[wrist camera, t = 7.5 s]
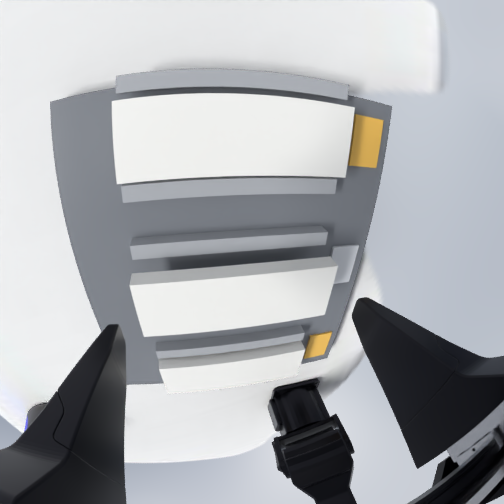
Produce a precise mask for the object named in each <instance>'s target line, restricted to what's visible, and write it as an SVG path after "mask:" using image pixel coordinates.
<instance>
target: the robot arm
mask: <svg viewBox="0 0 504 504" xmlns="http://www.w3.org/2000/svg"><path fill="white" fill-rule="evenodd" d="M352 319H353V322H354V325H355V327H356V330H357V333H358V335H359V338H360V341H361V343H362V346H363V348H364V351H365V353H366V355H367V357H368V359H369V361H370V363H371V365H372V367H373V369H374V371H375V373H376V376H377V378H378V380H379V382H380V384H381V386H382V388H383V390H384V393H385V395H386V397H387V399H388V401H389V404H390V406H391V408H392V410H393V412H394V415H395V417H396V419H397V422H398V424H399V426H400V429H401V431H402V433H403V436H404V438H405V440H406V443H407V445H408V447H409V450H410V453H411V455H412V458H413V460H414V463H415V465H416V467H417V469H418V468H420V467H421V466H423V465H424V464H426V463H428V462H429V461H430V460H432V459H434V458H435V457H437V456H438V455H439V454H441V453H442V452H444V451H445V450H447V452H448V453H449V455H450V456H448V457H447V458H446V459H445V460H443V461H442V462H440V463H439V464H438V467H437V471H436V474H435V479H434V482H433V486H432V488H430V489H429V490H428V491H426V492H425V493H423V494H422V495H420V496H419V497H418V498H416V499H414V500H412V501H411V502H409V503H408V504H486V503H488V502H490V501H492V500H494V499H497V498H498V497H500V496H502V495H504V356H500V357H494V358H485V357H481V356H478V355H476V354H474V353H472V352H470V351H467V350H465V349H463V348H461V347H459V346H457V345H455V344H453V343H451V342H449V341H447V340H445V339H443V338H441V337H439V336H438V335H435V334H434V333H432V332H430V331H429V330H427V329H425V328H423V327H421V326H419V325H418V324H416V323H414V322H412V321H410V320H408V319H407V318H405V317H403V316H401V315H399V314H397V313H395V312H394V311H392V310H390V309H388V308H386V307H384V306H383V305H381V304H379V303H377V302H375V301H373V300H371V299H370V298H367V297H364V298H359V299H358V300H357V301H356V304H355V307H354V310H353V313H352ZM126 385H127V380H126V343H125V339H124V336H123V333H122V330H121V327H120V325H119V324H108V325H107V326H106V327H105V328H104V330H103V331H102V332H101V333H100V335H99V336H98V337H97V338H96V340H95V341H94V342H93V343H92V345H91V346H90V347H89V349H88V350H87V351H86V352H85V354H84V355H83V356H82V358H81V359H80V360H79V361H78V363H77V364H76V365H75V367H74V368H73V369H72V371H71V372H70V373H69V375H68V376H67V377H66V379H65V380H64V382H63V383H62V384H61V386H60V387H59V388H58V391H56V392H55V394H54V395H53V397H52V398H51V399H50V401H49V402H48V403H47V405H46V406H45V408H44V409H43V410H42V411H41V412H40V414H39V415H38V416H37V417H36V419H35V420H34V421H33V422H32V423H31V424H30V426H29V427H28V428H27V429H26V430H25V431H24V433H23V434H22V435H21V436H20V437H19V439H18V440H17V441H16V442H15V443H14V444H12V445H11V446H9V447H7V448H5V449H1V450H0V504H126V492H125V475H124V422H125V401H126ZM318 385H319V380H318V379H315V380H311V381H307V382H302V383H298V384H294V385H289V386H285V387H280V388H276V389H274V390H273V393H272V397H271V399H270V401H269V405H268V410H269V413H270V416H271V419H272V422H273V425H274V428H275V431H280V433H281V436H280V437H275V438H274V441H273V442H272V445H273V448H274V451H275V456H276V463H277V468H278V470H279V471H281V472H283V474H284V475H285V476H286V477H287V478H291V480H292V482H293V484H294V485H295V486H296V487H297V488H299V489H300V490H302V491H303V492H304V493H306V494H307V495H309V496H310V497H312V498H313V499H314V500H315V503H316V504H357V503H356V501H355V498H354V496H353V494H352V492H351V489H350V484H351V479H352V474H353V468H354V467H353V459H352V457H351V454H353V453H354V449H353V446H352V443H351V441H350V439H349V437H348V435H347V433H346V431H345V429H344V427H343V425H342V424H341V422H340V420H339V418H338V416H337V414H335V415H333V416H331V417H330V416H329V413H328V411H327V409H326V407H325V405H324V403H323V400H322V398H321V396H320V394H319V392H318V390H317V387H318ZM334 429H335V430H334Z"/></svg>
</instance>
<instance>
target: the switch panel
mask: <svg viewBox="0 0 504 504" xmlns="http://www.w3.org/2000/svg"><path fill="white" fill-rule="evenodd" d="M348 88H349V85H346V84H342V83H337V82H333V81H328V80H323V79H317V78H311V77H305V76H299V75H292V74H284V73H275V72H266V71H254V70H237V69H179V70H163V71H151V72H141V73H133V74H126V75H119V76H116V88H112V89H106V90H100V91H95V92H90V93H85V94H80V95H76V96H72V97H67V98H63V99H59V100H56V101H52V102H50V109H51V129H52V141H53V151H54V160H55V167H56V174H57V181H58V187H59V193H60V198H61V203H62V208H63V213H64V217H65V222H66V226H67V230H68V234H69V238H70V242H71V245H72V249H73V253H74V256H75V260H76V263H77V266H78V269H79V273H80V276H81V279H82V282H83V285H84V288H85V290H86V293H87V296H88V299H89V301H90V304H91V307H92V309H93V312H94V314H95V317H96V319H97V322H98V324H99V327H100V329H101V331H103V330H104V328H105V327H106V326H107V325H108V324H119V325H120V327H121V330H122V333H123V336H124V339H125V343H126V380H127V384H157V383H164V382H163V379H162V376H161V374H160V371H159V359H160V358H174V357H186V356H197V355H207V354H216V353H224V352H232V351H240V350H247V349H254V348H260V347H266V346H272V345H278V344H284V343H290V342H295V341H300V340H301V342H302V344H303V346H304V348H305V352H304V356H303V359H302V362H301V364H304V363H308V362H312V361H317V360H321V359H325V358H327V357H328V354H329V352H330V349H331V347H332V344H333V342H334V339H335V336H336V334H337V331H338V328H339V326H340V323H341V320H342V317H343V315H344V312H345V309H346V306H347V303H348V300H349V297H350V294H351V291H352V288H353V285H354V281H355V278H356V275H357V272H358V268H359V265H360V261H361V258H362V254H363V251H364V247H365V244H366V240H367V236H368V232H369V228H370V224H371V220H372V216H373V212H374V208H375V203H376V198H377V194H378V189H379V185H380V179H381V174H382V169H383V164H384V157H385V152H386V146H387V139H388V133H389V126H390V118H391V110H392V106H389V105H385V104H382V103H378V102H374V101H370V100H366V99H362V98H358V97H354V96H349V95H348ZM195 93H233V94H256V95H270V96H282V97H291V98H300V99H308V100H315V101H321V102H328V103H334V104H339V105H345V106H350V107H355V110H354V119H353V128H352V136H351V143H350V151H349V157H348V164H347V171H346V177H345V178H342V177H319V176H221V177H199V178H181V179H167V180H155V181H143V182H133V183H124V184H117V181H116V172H115V161H114V148H113V131H112V101H115V100H122V99H130V98H138V97H147V96H158V95H172V94H195ZM329 256H330V257H331V258H332V259H333V260H334V262H335V263H336V264H337V265H338V268H337V272H336V276H335V280H334V284H333V287H332V291H331V294H330V298H329V302H328V305H327V308H326V312H325V315H321V316H316V317H310V318H304V319H298V320H292V321H286V322H280V323H273V324H267V325H260V326H252V327H245V328H237V329H229V330H220V331H211V332H201V333H190V334H179V335H166V336H151V337H144V335H143V332H142V329H141V326H140V322H139V319H138V315H137V312H136V308H135V305H134V301H133V297H132V293H131V290H130V286H129V285H130V280H131V275H132V273H144V272H157V271H170V270H182V269H195V268H207V267H219V266H230V265H242V264H253V263H265V262H276V261H287V260H297V259H308V258H318V257H329Z"/></svg>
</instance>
